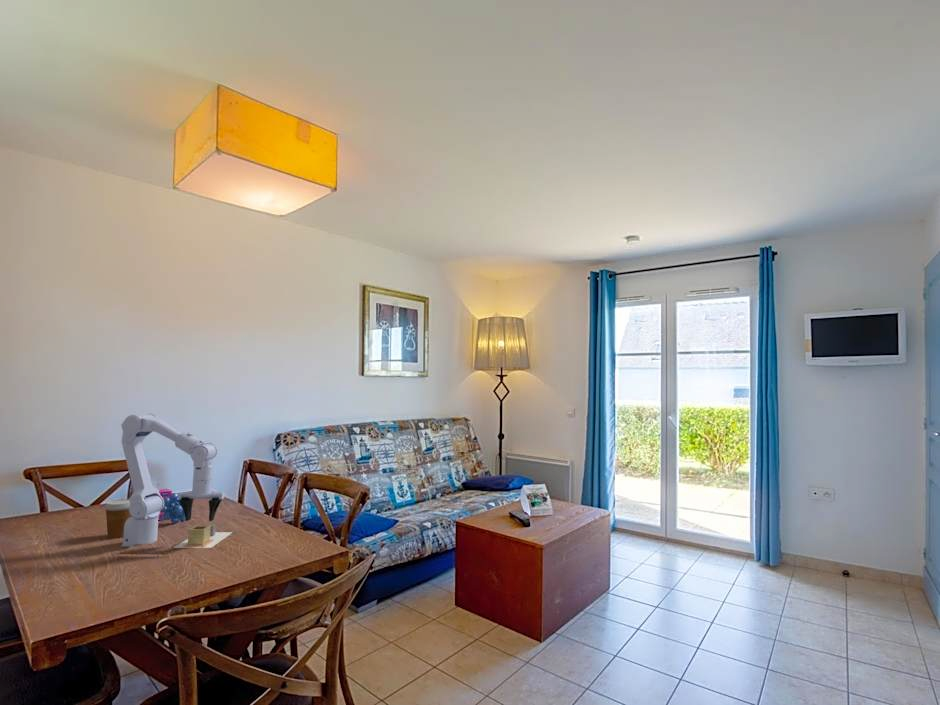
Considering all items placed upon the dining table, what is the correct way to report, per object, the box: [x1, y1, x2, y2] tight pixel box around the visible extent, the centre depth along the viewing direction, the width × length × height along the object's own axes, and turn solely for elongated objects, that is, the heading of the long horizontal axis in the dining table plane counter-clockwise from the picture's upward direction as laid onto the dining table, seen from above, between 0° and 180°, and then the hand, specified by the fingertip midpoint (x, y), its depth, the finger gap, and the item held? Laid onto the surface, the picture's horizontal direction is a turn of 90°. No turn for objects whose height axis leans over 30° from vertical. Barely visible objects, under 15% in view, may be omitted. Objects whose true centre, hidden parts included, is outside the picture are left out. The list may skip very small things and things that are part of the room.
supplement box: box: [158, 488, 173, 521], centre depth 204 cm, size 6×6×12 cm
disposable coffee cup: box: [104, 498, 132, 539], centre depth 181 cm, size 10×10×12 cm
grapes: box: [161, 492, 194, 524], centre depth 197 cm, size 12×7×12 cm, turn 132°
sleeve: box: [187, 525, 211, 545], centre depth 171 cm, size 5×5×5 cm
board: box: [173, 524, 233, 549], centre depth 176 cm, size 12×18×4 cm, turn 4°
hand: (199, 520), depth 172 cm, fingers open, 7 cm apart
